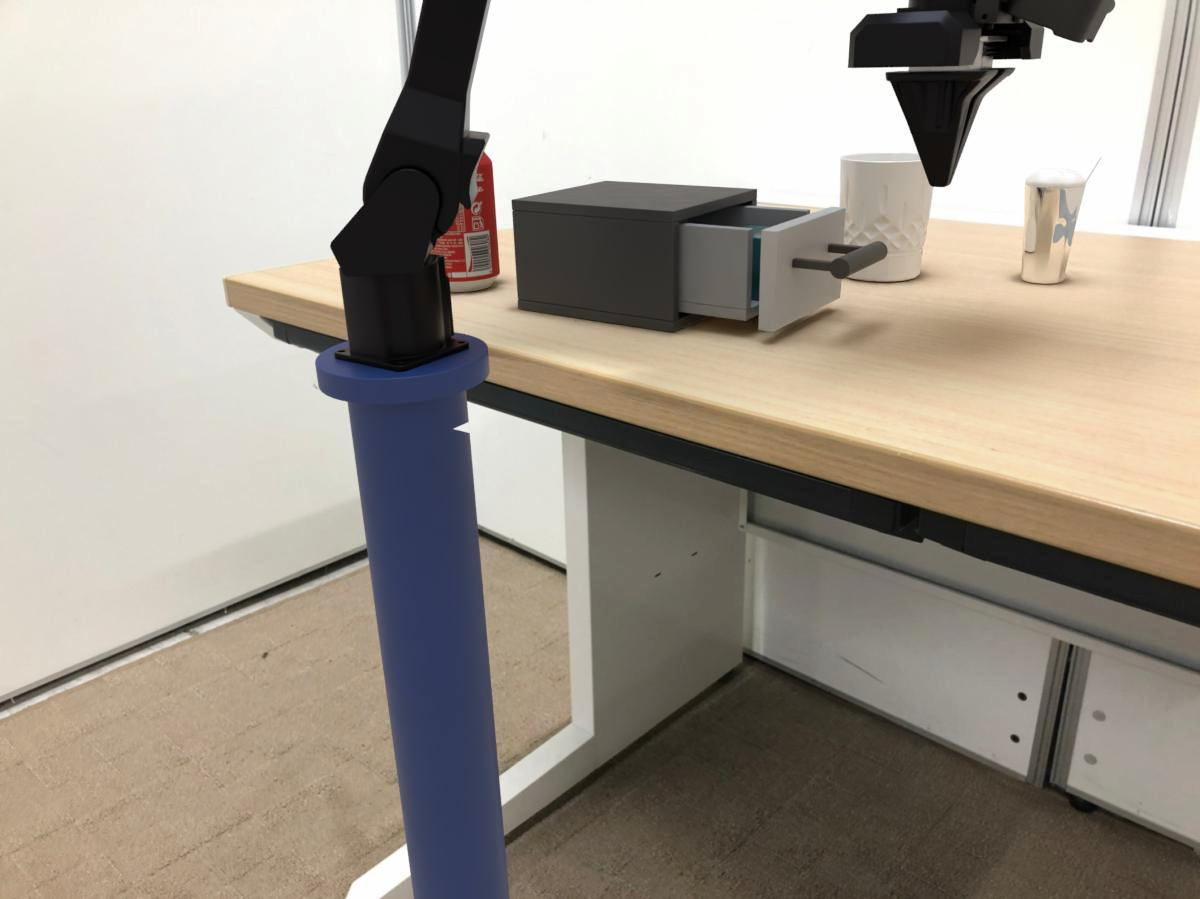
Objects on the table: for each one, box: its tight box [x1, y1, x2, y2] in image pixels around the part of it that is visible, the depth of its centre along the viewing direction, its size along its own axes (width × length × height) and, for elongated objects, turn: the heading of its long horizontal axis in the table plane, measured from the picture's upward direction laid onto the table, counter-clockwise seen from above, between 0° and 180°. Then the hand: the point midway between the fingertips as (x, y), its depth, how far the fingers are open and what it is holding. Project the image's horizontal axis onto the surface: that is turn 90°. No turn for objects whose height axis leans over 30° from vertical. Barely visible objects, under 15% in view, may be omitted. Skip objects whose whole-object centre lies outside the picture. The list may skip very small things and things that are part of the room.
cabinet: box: [511, 180, 758, 333], centre depth 78 cm, size 15×13×9 cm
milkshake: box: [1020, 157, 1102, 285], centre depth 81 cm, size 5×5×10 cm
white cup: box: [839, 151, 934, 283], centre depth 85 cm, size 8×8×10 cm
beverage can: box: [430, 151, 501, 293], centre depth 85 cm, size 6×6×12 cm
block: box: [743, 225, 769, 301], centre depth 72 cm, size 4×4×4 cm
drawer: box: [678, 205, 888, 333], centre depth 72 cm, size 18×11×7 cm, turn 55°
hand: (939, 186), depth 63 cm, fingers closed
